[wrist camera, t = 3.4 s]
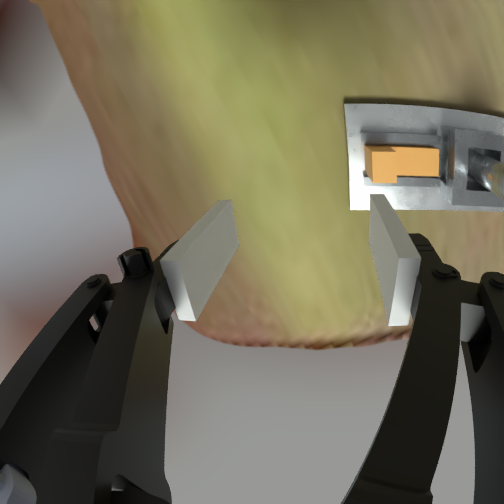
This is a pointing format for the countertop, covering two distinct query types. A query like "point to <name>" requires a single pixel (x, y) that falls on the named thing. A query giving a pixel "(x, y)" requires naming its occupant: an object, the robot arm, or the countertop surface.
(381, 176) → the orange block
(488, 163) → the peg
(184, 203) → the countertop surface
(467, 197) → the socket station
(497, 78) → the countertop surface
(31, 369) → the robot arm
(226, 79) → the countertop surface
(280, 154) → the countertop surface
